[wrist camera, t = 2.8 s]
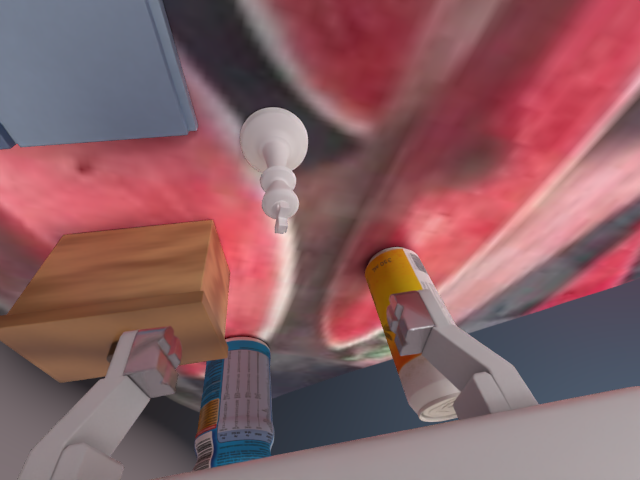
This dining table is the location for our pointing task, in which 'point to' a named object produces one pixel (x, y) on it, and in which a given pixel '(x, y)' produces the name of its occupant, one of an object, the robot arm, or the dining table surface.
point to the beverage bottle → (236, 406)
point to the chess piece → (275, 158)
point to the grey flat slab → (89, 73)
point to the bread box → (122, 297)
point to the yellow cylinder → (414, 370)
